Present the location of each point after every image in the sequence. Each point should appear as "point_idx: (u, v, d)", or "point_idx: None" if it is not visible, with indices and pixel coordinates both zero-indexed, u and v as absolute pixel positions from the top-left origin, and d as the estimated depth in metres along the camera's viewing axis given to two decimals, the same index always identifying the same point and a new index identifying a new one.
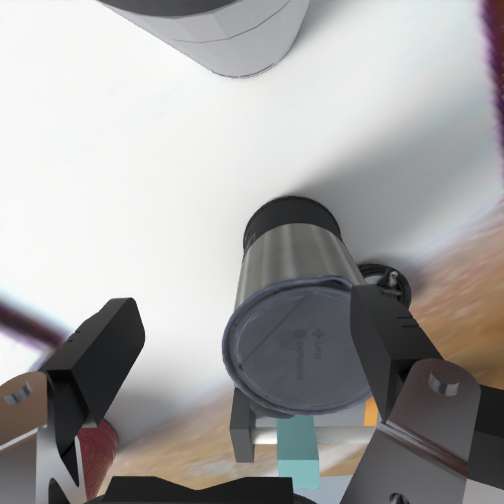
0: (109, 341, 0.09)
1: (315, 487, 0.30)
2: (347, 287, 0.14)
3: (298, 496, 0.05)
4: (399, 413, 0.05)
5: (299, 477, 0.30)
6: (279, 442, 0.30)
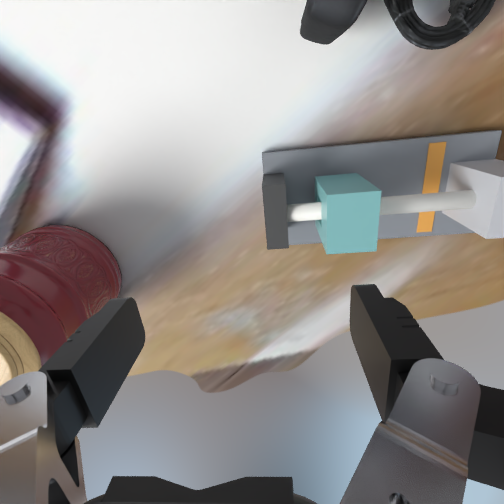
0: (109, 341, 0.09)
1: (370, 249, 0.24)
2: None
3: (298, 496, 0.05)
4: (399, 413, 0.05)
5: (352, 229, 0.24)
6: (326, 189, 0.24)
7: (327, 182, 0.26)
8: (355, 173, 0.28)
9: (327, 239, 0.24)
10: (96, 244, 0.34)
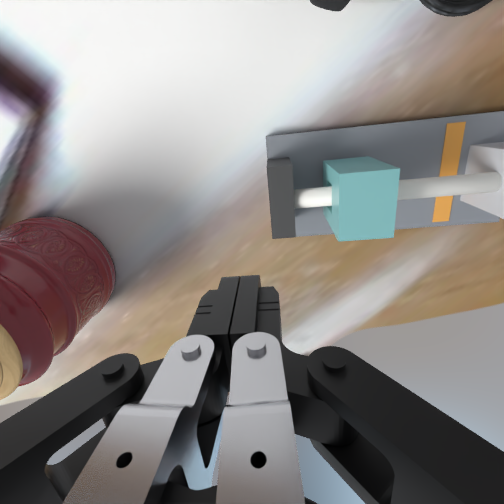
0: None
1: (387, 235, 0.22)
2: None
3: None
4: (235, 391, 0.06)
5: (367, 213, 0.21)
6: (338, 169, 0.22)
7: (337, 164, 0.24)
8: (367, 156, 0.26)
9: (339, 224, 0.22)
10: (88, 237, 0.32)
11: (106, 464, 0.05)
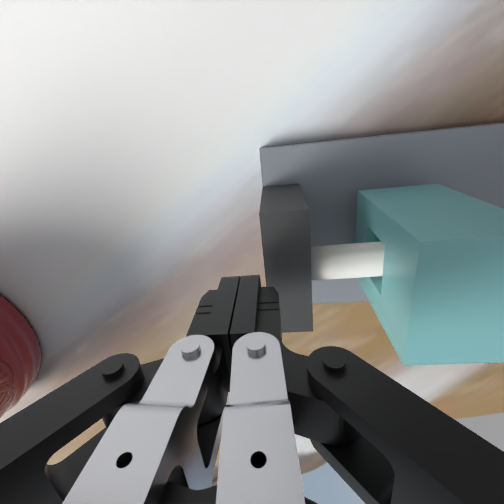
0: None
1: None
2: None
3: None
4: (235, 391, 0.06)
5: (471, 318, 0.10)
6: (406, 223, 0.11)
7: (393, 204, 0.13)
8: (436, 184, 0.15)
9: (408, 336, 0.11)
10: None
11: (106, 464, 0.05)
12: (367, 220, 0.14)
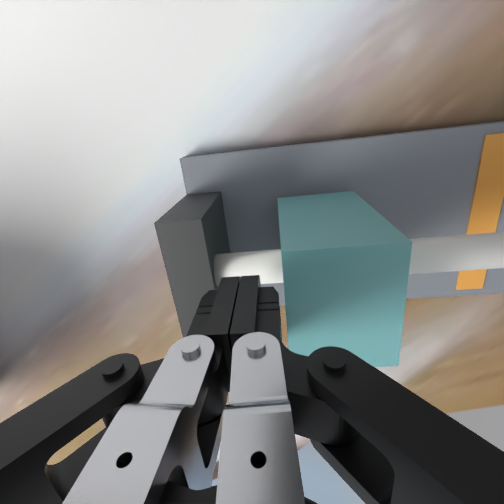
0: None
1: (386, 363, 0.11)
2: None
3: None
4: (235, 391, 0.06)
5: (344, 324, 0.10)
6: (286, 233, 0.11)
7: (294, 212, 0.13)
8: (351, 192, 0.15)
9: (290, 342, 0.11)
10: None
11: (106, 464, 0.05)
12: None
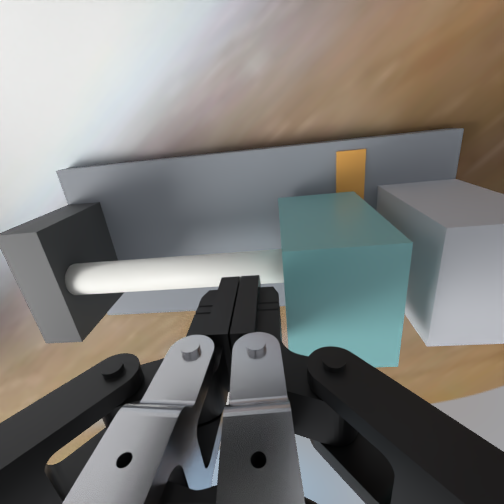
0: None
1: (386, 363, 0.11)
2: None
3: None
4: (235, 391, 0.06)
5: (344, 325, 0.10)
6: (287, 233, 0.11)
7: (295, 212, 0.13)
8: (351, 192, 0.15)
9: (290, 342, 0.11)
10: None
11: (106, 464, 0.05)
12: None
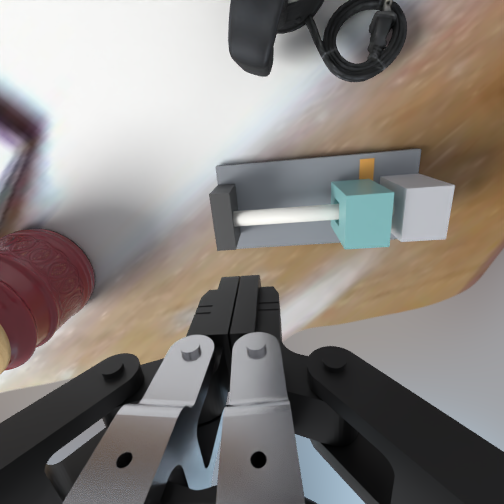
0: None
1: (384, 245, 0.27)
2: None
3: None
4: (235, 391, 0.06)
5: (368, 227, 0.27)
6: (345, 191, 0.27)
7: (344, 186, 0.29)
8: (368, 179, 0.32)
9: (345, 235, 0.27)
10: (71, 246, 0.38)
11: (106, 464, 0.05)
12: (334, 194, 0.31)
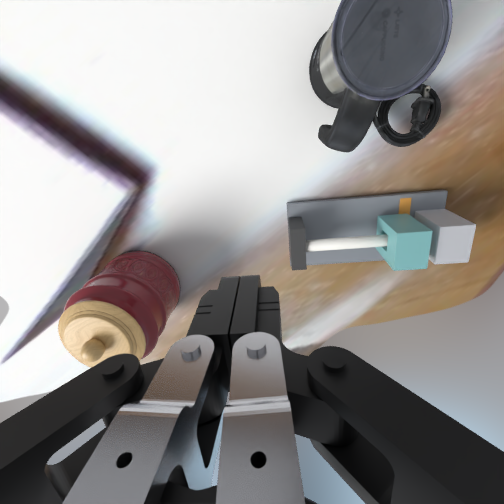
0: None
1: (423, 267, 0.37)
2: None
3: None
4: (235, 391, 0.06)
5: (412, 255, 0.36)
6: (394, 228, 0.37)
7: (390, 222, 0.39)
8: (406, 214, 0.41)
9: (395, 261, 0.37)
10: (166, 265, 0.48)
11: (106, 464, 0.05)
12: (381, 227, 0.41)
